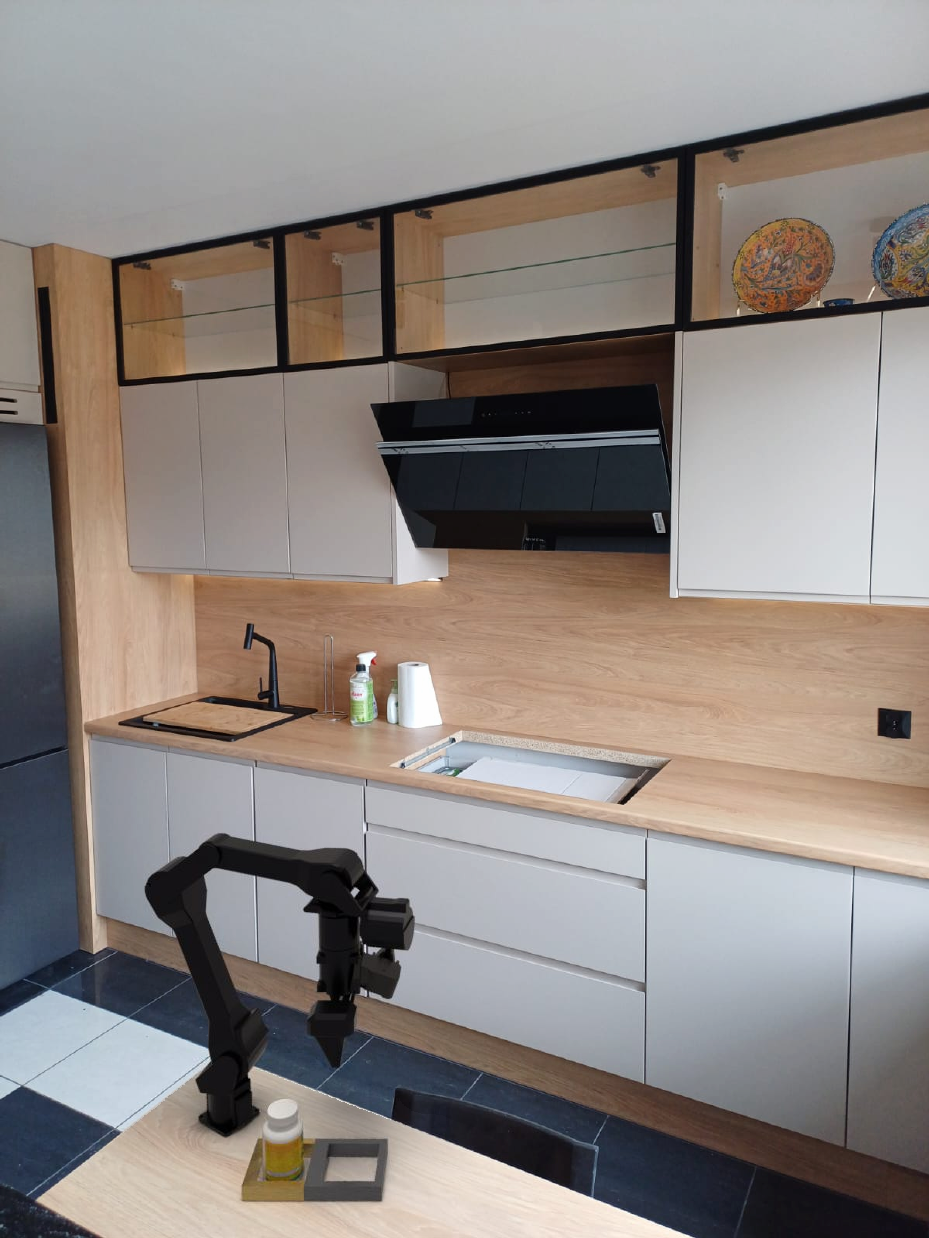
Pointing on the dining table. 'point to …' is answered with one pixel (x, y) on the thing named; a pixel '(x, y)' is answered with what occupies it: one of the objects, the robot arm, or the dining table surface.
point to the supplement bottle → (283, 1142)
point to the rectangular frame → (320, 1173)
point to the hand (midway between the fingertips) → (340, 1047)
